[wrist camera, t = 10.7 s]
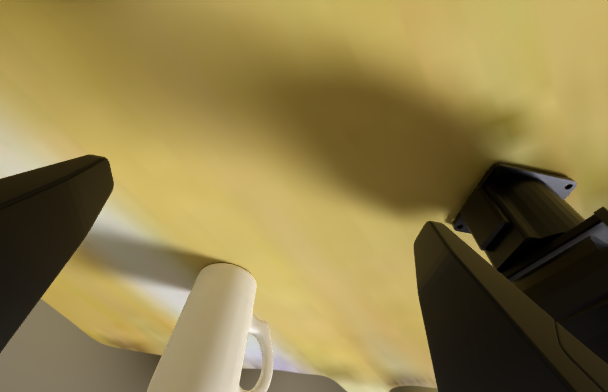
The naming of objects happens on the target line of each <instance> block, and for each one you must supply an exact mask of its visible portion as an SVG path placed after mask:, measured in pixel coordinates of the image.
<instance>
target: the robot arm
mask: <svg viewBox="0 0 608 392" xmlns="http://www.w3.org/2000/svg"><path fill="white" fill-rule="evenodd" d="M498 169H500V170H499V171H497V170H498ZM496 171H497V172H496ZM566 185H567V186H566ZM576 185H577V183H576V182H575V181H574V180H573V179H571V178H567V177H562V176H558V175H553V174H549V173H544V172H539V171H535V170H530V169H526V168H521V167H516V166H512V165H507V164H503V163H496V164H494V165H492V166H491V167H490V169H489V170H488V172H487V173H486V175H485V176H484V178H483V179H482V180H481V182H480V183H479V185H478V186H477V188H476V189H475V190H474V192H473V193H472V195H471V196H470V198H469V199H468V200H467V202H466V203H465V205H464V206H463V208H462V209H461V211H460V213H459V214H458V216H457V217H456V218H455V220H454V221H453V223H452V226H453V228H454V229H455V230H456V231H460V232H465V233H470V234H472V235H473V237H474V239H475V241H476V242H477V244H478V246H479V248H480V249H481V250H483V251H485V253H486V255H487V256H488V258H489V260H490V262H491V263H492V265H493V266H491V265H490V264H489V263H488V262H487V261H486V260H485V259H483V258H482V257H481V256H480V255H479V254H478V253H476V252H475V251H474V250H473V249H472V248H471V247H469V246H468V245H467V244H466V243H465V242H464V241H462V240H461V239H460V238H459V237H458V236H457V235H456V234H454V233H453V232H452V231H451V230H450V229H449V228H447V227H446V226H445V225H444V224H442V223H439V222H433V221H428V222H427V223H426V224H425V225H424V226H423V228H422V230H421V231H420V233H419V235H418V236H417V238H416V240H415V242H414V256H415V267H416V278H417V288H418V296H419V301H420V306H421V311H422V316H423V320H424V325H425V330H426V335H427V340H428V345H429V349H430V354H431V359H432V364H433V369H434V373H435V378H436V383H437V388H438V392H608V210H607V209H606V208H605V207H602V208H600V209H598V210H597V211H595V212H594V215H592V216H591V217H589V218H588V219H586V220H585V219H584V218H583V217H581V216H580V215H579V214H578V213H577V212H576V211H575V210H574V209H573V208H572V207H571V206H570V205H569V204H568V203H567V202H566V201H565V200H564V199H565V198H566V197H567V196H568V195H569V194H570V193H571V192H572V191H573V190H574V189H575V187H576ZM113 186H114V182H113V177H112V173H111V168H110V164H109V161H108V159H107V158H105V157H101V156H96V155H85V156H82V157H78V158H74V159H71V160H67V161H63V162H60V163H56V164H53V165H49V166H45V167H42V168H38V169H34V170H31V171H27V172H23V173H20V174H16V175H13V176H9V177H5V178H2V179H0V353H1V351H2V350H3V349H4V347H5V346H6V344H7V343H8V342H9V340H10V339H11V338H12V336H13V335H14V334H15V332H16V331H17V330H18V328H19V327H20V326H21V324H22V323H23V321H24V320H25V319H26V317H27V316H28V315H29V313H30V312H31V311H32V309H33V308H34V306H35V305H36V304H37V302H38V301H39V300H40V298H41V297H42V296H43V294H44V293H45V292H46V290H47V289H48V288H49V286H50V285H51V284H52V282H53V281H54V279H55V278H56V277H57V275H58V274H59V273H60V271H61V270H62V269H63V267H64V266H65V265H66V263H67V262H68V260H69V259H70V258H71V256H72V255H73V254H74V252H75V251H76V250H77V248H78V247H79V246H80V244H81V243H82V241H83V240H84V238H85V237H86V236H87V234H88V232H89V231H90V229H91V227H92V226H93V224H94V222H95V220H96V219H97V217H98V215H99V213H100V212H101V210H102V208H103V206H104V205H105V203H106V201H107V199H108V198H109V196H110V194H111V192H112V190H113ZM460 224H461V225H460ZM458 225H459V226H458Z"/></svg>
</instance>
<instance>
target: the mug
mask: <svg viewBox="0 0 608 392" xmlns="http://www.w3.org/2000/svg"><path fill="white" fill-rule="evenodd" d="M256 288H257V285H256V281H255V279H254V277H253V276H252V275H251V274H250V273H249V272H248V271H246V270H245V269H243V268H241V267H239V266H236V265H232V264H227V263H216V264H211V265H208V266H206V267H205V268H203V269H202V270H201V271H200V273H199V275H198V277H197V279H196V281H195V284H194V286H193V288H192V290H191V292H190V294H189V296H188V298H187V301H186V303H185V305H184V307H183V310H182V312H181V314H180V317H179V319H178V321H177V323H176V326H175V328H174V330H173V332H172V334H171V337H170V339H169V341H168V343H167V346H166V348H165V350H164V352H163V355H162V357H161V359H160V361H159V364H158V366H157V368H156V370H155V373H154V375H153V377H152V380H151V382H150V384H149V387H148V390H147V392H267V389H268V387H269V384H270V382H271V378H272V372H273V350H272V343H271V337H270V331H269V325H268V323H267V322H265V321H262V320H260V319H258V318H257V317H255V316H254V314H253V312H252V311H253V306H254V300H255V294H256ZM248 333H250V334H252V335H254V336H255V337H256V338H257V340H258V342H259V344H260V347H261V352H262V371H261V375H260V378H259V380H258V382H257V384H256V385H255V387H254V388H253V389H252V390H250V391H245V390H243V389H242V388H241V387H240V386H239V381H240V375H241V370H242V365H243V359H244V354H245V348H246V343H247V338H248Z"/></svg>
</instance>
